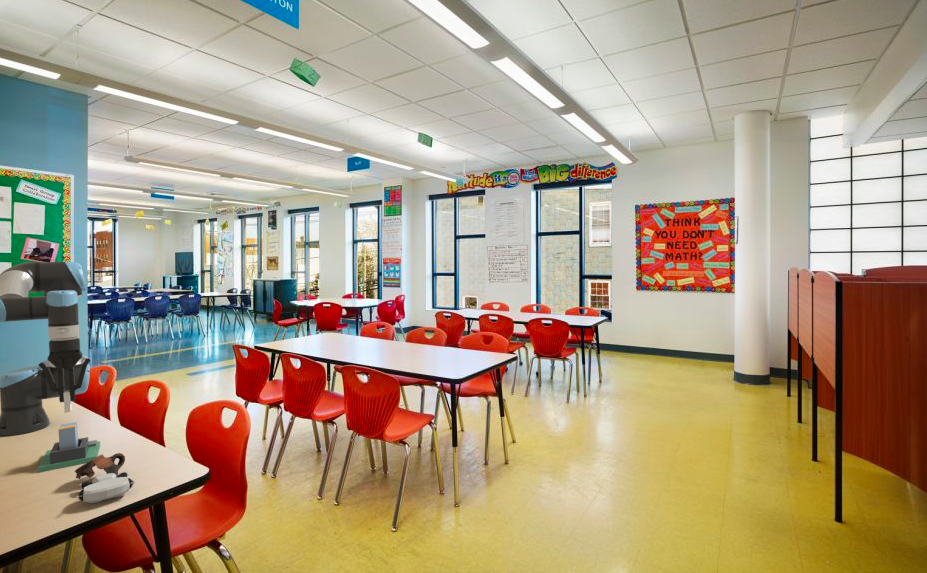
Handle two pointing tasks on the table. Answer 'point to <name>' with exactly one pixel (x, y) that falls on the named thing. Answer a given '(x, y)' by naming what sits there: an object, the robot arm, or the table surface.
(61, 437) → the plug
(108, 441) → the table surface
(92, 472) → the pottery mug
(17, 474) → the table surface
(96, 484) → the robot toy
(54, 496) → the table surface
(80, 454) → the circuit board
